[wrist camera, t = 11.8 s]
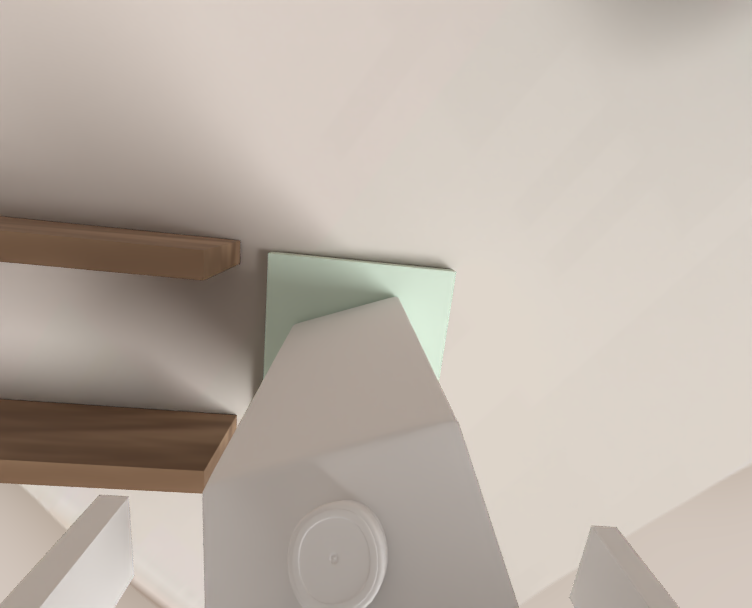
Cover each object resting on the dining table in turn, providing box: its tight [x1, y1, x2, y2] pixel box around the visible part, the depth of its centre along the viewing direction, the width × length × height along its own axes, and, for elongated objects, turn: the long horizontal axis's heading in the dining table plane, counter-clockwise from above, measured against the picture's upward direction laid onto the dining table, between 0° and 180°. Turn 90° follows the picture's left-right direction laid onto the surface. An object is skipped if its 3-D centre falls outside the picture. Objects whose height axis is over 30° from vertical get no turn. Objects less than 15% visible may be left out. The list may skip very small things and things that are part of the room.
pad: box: [263, 252, 456, 381], centre depth 26 cm, size 13×12×1 cm
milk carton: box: [203, 297, 519, 608], centre depth 16 cm, size 7×7×19 cm
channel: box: [0, 216, 240, 494], centre depth 22 cm, size 14×18×6 cm
